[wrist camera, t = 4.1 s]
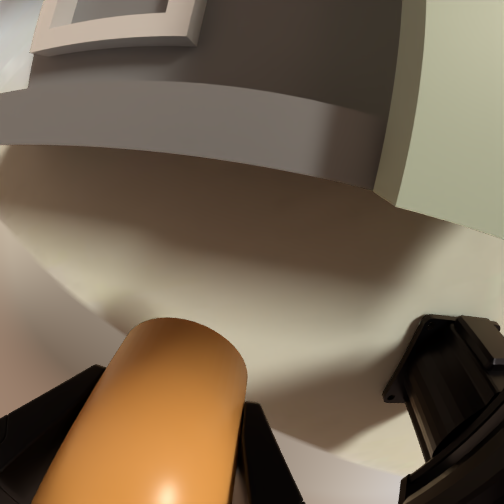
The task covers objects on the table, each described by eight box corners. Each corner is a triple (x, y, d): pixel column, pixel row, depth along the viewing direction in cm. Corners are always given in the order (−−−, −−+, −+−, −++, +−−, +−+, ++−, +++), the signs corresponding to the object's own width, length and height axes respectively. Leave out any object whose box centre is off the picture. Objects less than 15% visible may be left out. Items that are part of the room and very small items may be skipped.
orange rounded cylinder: (238, 420, 10) (215, 578, 4) (128, 394, 10) (66, 533, 4) (258, 333, 8) (234, 562, 3) (118, 303, 8) (-2, 474, 3)
